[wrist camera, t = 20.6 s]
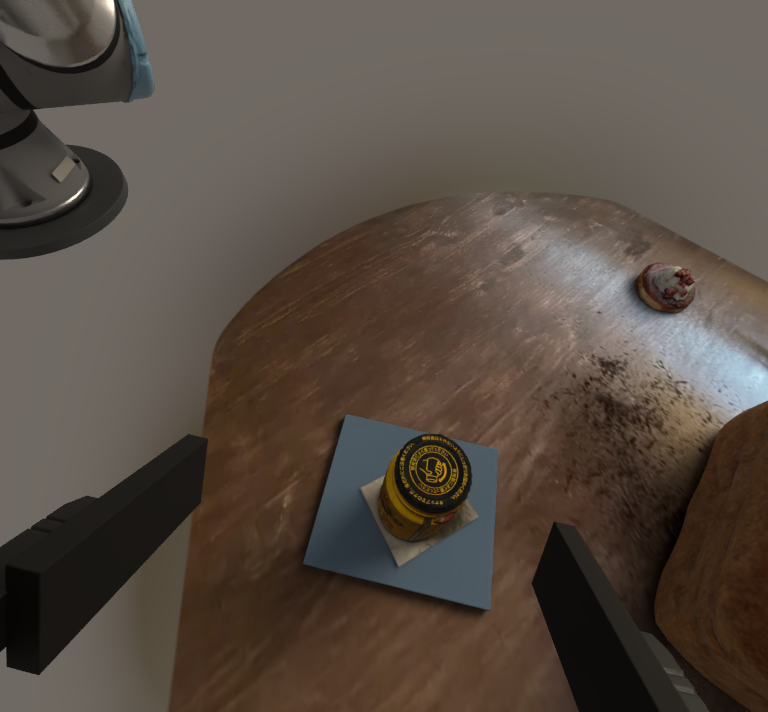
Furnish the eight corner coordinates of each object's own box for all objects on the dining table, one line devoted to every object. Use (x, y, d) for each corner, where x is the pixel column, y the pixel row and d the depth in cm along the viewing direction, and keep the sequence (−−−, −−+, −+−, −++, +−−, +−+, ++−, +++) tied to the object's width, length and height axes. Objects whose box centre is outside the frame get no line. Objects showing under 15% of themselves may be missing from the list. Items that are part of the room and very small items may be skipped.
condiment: (359, 488, 36) (365, 446, 26) (435, 448, 39) (467, 395, 28) (398, 567, 33) (422, 553, 23) (477, 517, 36) (531, 485, 25)
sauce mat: (303, 564, 33) (302, 563, 32) (345, 416, 40) (345, 413, 40) (487, 610, 32) (490, 610, 32) (496, 451, 40) (498, 449, 39)
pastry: (654, 318, 52) (682, 293, 48) (621, 277, 55) (644, 251, 51) (700, 307, 54) (730, 282, 49) (665, 268, 57) (690, 242, 53)
